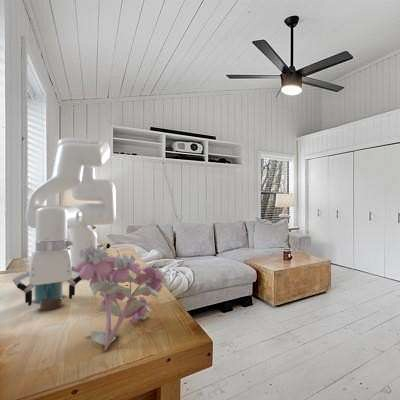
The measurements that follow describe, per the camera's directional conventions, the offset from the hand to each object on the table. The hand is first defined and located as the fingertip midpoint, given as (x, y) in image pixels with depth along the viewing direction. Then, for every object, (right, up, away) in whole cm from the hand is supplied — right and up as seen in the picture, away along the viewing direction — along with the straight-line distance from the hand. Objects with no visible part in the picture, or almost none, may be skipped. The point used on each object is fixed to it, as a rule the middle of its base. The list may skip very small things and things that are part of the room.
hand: (50, 301), depth 91 cm
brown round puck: (0, -2, 0) cm, 2 cm away
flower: (+31, -3, -14) cm, 34 cm away
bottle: (-7, -2, +8) cm, 10 cm away
